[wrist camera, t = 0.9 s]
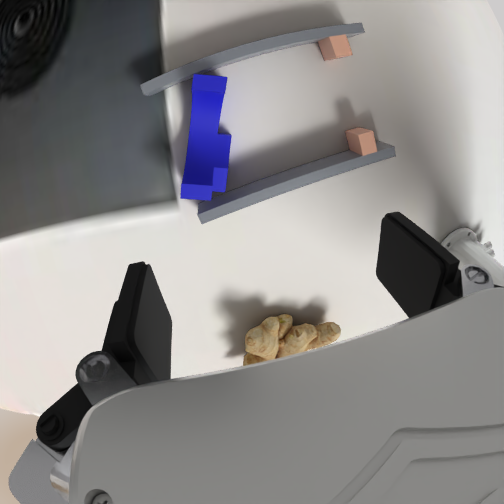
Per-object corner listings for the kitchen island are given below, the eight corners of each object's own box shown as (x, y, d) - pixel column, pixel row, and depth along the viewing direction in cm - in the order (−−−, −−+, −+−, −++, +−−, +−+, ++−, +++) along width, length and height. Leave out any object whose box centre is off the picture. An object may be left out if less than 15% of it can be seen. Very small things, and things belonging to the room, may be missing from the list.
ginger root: (210, 362, 46) (220, 395, 39) (254, 282, 44) (272, 308, 36) (285, 378, 52) (301, 406, 45) (328, 310, 50) (353, 334, 42)
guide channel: (347, 28, 25) (361, 22, 22) (381, 149, 33) (395, 156, 30) (147, 86, 26) (139, 85, 23) (202, 212, 34) (201, 224, 31)
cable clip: (223, 184, 33) (226, 202, 28) (185, 181, 32) (180, 198, 27) (238, 82, 28) (244, 79, 22) (197, 78, 27) (193, 74, 22)
